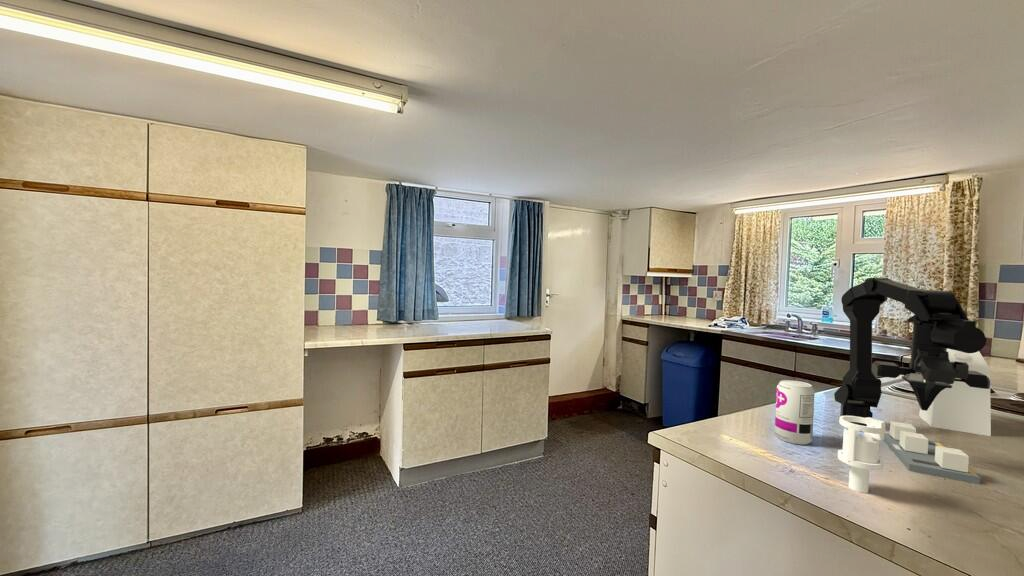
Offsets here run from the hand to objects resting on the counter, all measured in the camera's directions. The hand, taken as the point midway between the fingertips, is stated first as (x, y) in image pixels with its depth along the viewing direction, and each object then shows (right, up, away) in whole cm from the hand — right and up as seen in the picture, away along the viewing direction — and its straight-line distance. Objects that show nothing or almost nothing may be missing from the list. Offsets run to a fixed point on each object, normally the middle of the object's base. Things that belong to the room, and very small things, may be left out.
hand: (923, 410), depth 96 cm
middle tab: (+1, -11, +3) cm, 11 cm away
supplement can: (-22, -12, +12) cm, 28 cm away
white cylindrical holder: (-27, -12, -13) cm, 32 cm away
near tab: (0, -11, -5) cm, 12 cm away
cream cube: (+5, -11, +10) cm, 16 cm away
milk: (+35, -13, +26) cm, 46 cm away
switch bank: (+3, -12, +2) cm, 13 cm away
